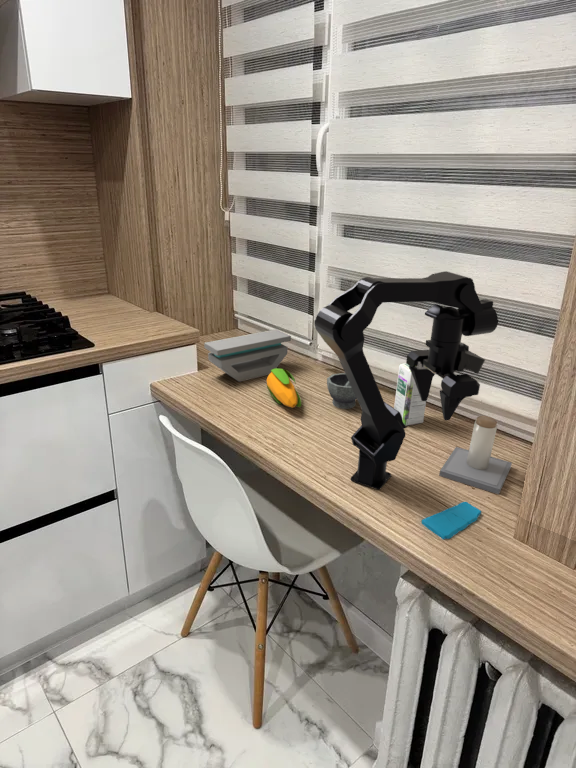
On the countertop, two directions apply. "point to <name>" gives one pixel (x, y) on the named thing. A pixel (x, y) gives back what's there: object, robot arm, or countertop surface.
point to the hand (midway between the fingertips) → (435, 410)
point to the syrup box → (408, 397)
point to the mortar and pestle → (341, 391)
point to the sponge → (452, 520)
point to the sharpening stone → (249, 354)
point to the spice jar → (482, 442)
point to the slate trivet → (476, 471)
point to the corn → (283, 388)
